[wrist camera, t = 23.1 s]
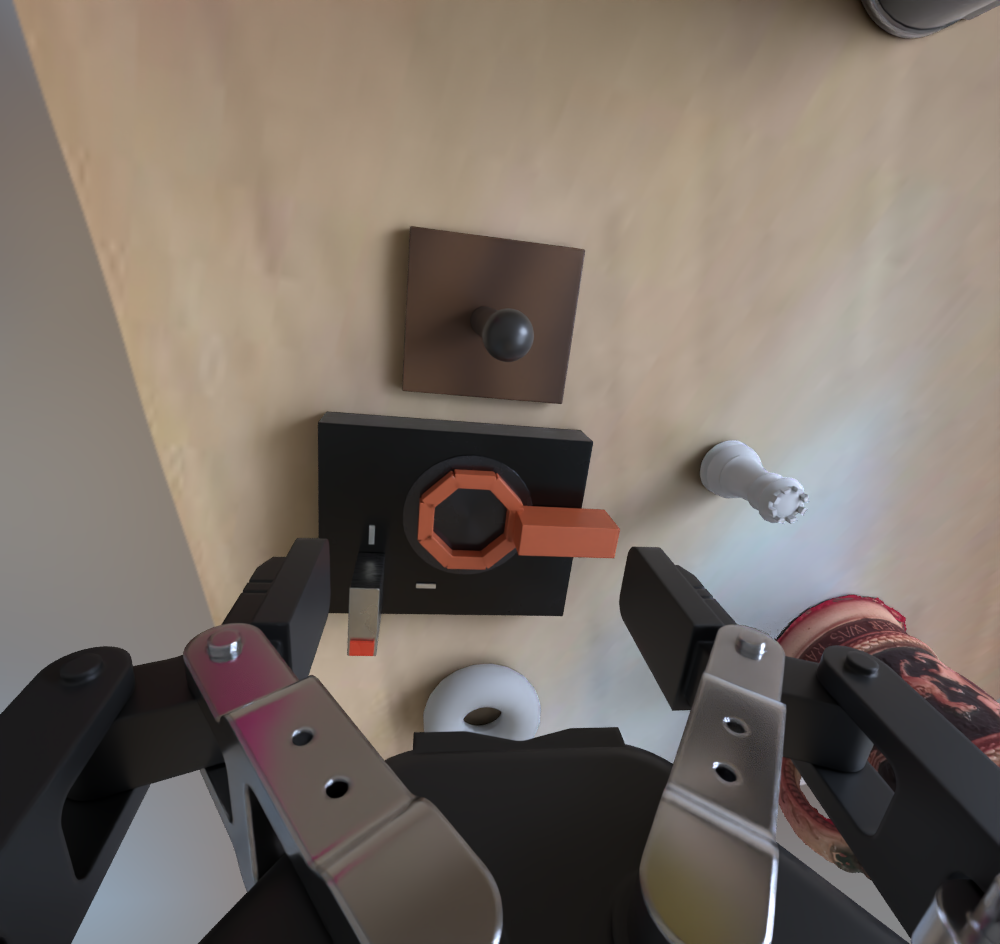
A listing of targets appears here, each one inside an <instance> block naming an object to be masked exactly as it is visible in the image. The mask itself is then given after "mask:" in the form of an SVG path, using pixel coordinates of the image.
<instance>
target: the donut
mask: <svg viewBox="0 0 1000 944" xmlns="http://www.w3.org/2000/svg"><path fill="white" fill-rule="evenodd" d="M481 707H491V708H496V709H498V710H500V711H501V712H502V714H501V715H500V716H499V718H498V719H496V720H495V721H493V722H492V723H489V724H486V725H478V726H476V725H471V724H468V723H466V722H465V721H464V720H463V719H464V717H465V716H466V715H467V714H468V713H469V712H471V711H473V710H475V709H478V708H481ZM540 712H541V707H540V702H539V699H538V696H537V693H536V691H535V689H534V687H533V686H532V685H531V684H530V682H529V681H528V680H527V679H526V678H525V677H524V676H523V675H522V674H520V673H518V672H516V671H514V670H513V669H511V668H509V667H506V666H501V665H496V664H478V665H471V666H468V667H466V668H463V669H460V670H457V671H455V672H454V673H452V674H451V675H449V676H448V677H446V678H445V679H443V680H442V681H441V682H440V683H439V685H438V686H437V687H436V688H435V689H434V691H433V692H432V693H431V694H430V696H429V699H428V701H427V704H426V707H425V710H424V714H423V718H424V732H450V731H468V732H473V733H479V734H484V735H489V736H495V737H500V738H505V739H510V740H516V741H524V740H528V739H532V738H534V736H535V733H536V731H537V729H538V727H539V724H540Z"/></svg>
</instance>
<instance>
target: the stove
mask: <svg viewBox="0 0 1000 944" xmlns="http://www.w3.org/2000/svg"><path fill="white" fill-rule="evenodd" d="M592 446H593V441H592V440H591V439H590V438H589V437H587V436H586V435H585V434H584V433H583V432H582V431H581V430H570V429H556V428H543V427H529V426H516V425H502V424H489V423H475V422H462V421H448V420H435V419H421V418H408V417H394V416H381V415H367V414H354V413H340V412H326V413H325V414H324V416H323V417H322V418H321V420H320V421H319V422H318V510H319V538H320V539H328V542H329V554H330V591H331V594H330V607H329V613H349V591H350V585H351V581H352V577H353V573H354V568H355V564H356V560H357V556H358V553H382V554H385V563H384V580H383V597H382V614H446V615H526V616H563V612H564V606H565V600H566V594H567V589H568V583H569V577H570V572H571V566H572V560H573V557H557V556H524V555H518V552H516V553H515V555H513V556H512V557H511V558H510V559H509V560H507V561H506V562H505V563H503V564H501V565H500V566H498V567H496V568H494V569H491V570H488V571H485V572H481V573H476V574H454V573H449V572H445V571H442V570H439V569H437V568H435V567H433V566H431V565H430V564H428V563H427V562H425V561H424V560H423V559H422V558H420V557H419V556H418V554H417V553H416V552H415V551H414V550H413V548H412V547H411V545H410V544H409V541H408V539H407V537H406V534H405V531H404V526H403V509H404V504H405V500H406V497H407V495H408V493H409V490H410V489H411V487H412V486H413V484H414V483H415V481H416V480H417V479H418V478H419V477H420V476H421V475H422V474H423V473H424V472H425V471H426V470H428V469H429V468H430V467H432V466H433V465H435V464H437V463H439V462H441V461H444V460H446V459H449V458H453V457H457V456H464V455H476V456H484V457H488V458H492V459H494V460H497V461H499V462H501V463H503V464H505V465H506V466H508V467H509V468H511V469H512V470H513V471H514V472H515V473H516V474H517V475H518V476H519V477H520V478H521V480H522V481H523V482H524V484H525V486H526V487H527V489H528V492H529V494H530V497H531V501H532V506H537V507H558V508H579V509H582V503H583V497H584V492H585V486H586V480H587V475H588V469H589V463H590V458H591V452H592Z"/></svg>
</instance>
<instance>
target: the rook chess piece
mask: <svg viewBox="0 0 1000 944" xmlns="http://www.w3.org/2000/svg"><path fill="white" fill-rule="evenodd" d="M700 477H701V481H702V484H703V485H704V486H705V487H706V488H707V489H708V491H711V492H713V493H714V494H716V495H719V496H721V497H724V498H743V499H745V500H747V501H749V504H750V505H751V506H752V507H753V508H754V509H757V510H759V514H760V515H761V516H762V518H763V519H764V520H766V521H769V522H771V523H779V522H780V523H782V524H784V522H785V521H787V522H789V523H790V524H791V523H793V522H796V521H797V518H796V517H795V515H797V514H798V513H800V514H802V515H803V516H804V514H805V512H806V511H807V508H805V507H803V503H807V502H809V497H808V495H806V494H804V489H803V486H802V485H801V484H800V482H799V481H798V480H796V479H793V478H791V477H787V478H783V477H782V476H781V475H779V474H776V473H769V472H768V471H767V470H766V469H765V468H763V466H762V463H761V461H760V458H759V456H758V455H757V454H756V453H755V451H754V450H753V449H752V448H750V447H748V446H747V445H746V444H744V443H742V442H740V441H737V440H734V441H724V442H722V443H720V444H717V445H715V446H714V447H713V448H712V449H711V450H710V451H709V452H708V453H707V454H706V456H705V457H704V459H703V461H702V463H701V469H700Z"/></svg>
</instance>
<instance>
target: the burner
mask: <svg viewBox="0 0 1000 944" xmlns="http://www.w3.org/2000/svg"><path fill="white" fill-rule="evenodd" d="M455 469H460V470H477V471H494V472H495V474H496V473H498V475H499V476H500V477H501V478H502V479H503V480H504V481H505V482H506V484H507V485H508V486H509V487H510V488H511V489H512V490H513V492H514V493H515V494H516V495H517V496H518V497H519V498H520V499H521V502H522V504H523V506H532V501H531V497H530V494H529V492H528V489H527V487H526V486H525V484H524V482H523V481H522V480H521V478H520V477H519V476H518V475H517V474H516V473H515V472H514V471H513V470H512V469H511V468H509V467H508V466H506V465H505V464H503V463H501V462H499V461H497V460H494V459H492V458H488V457H484V456H476V455H464V456H457V457H453V458H449V459H446V460H444V461H441V462H439V463H437V464H435V465H433V466H432V467H430V468H429V469H428V470H426V471H425V472H424V473H423V474H422V475H421V476H420V477H419V478H418V479H417V480H416V481H415V483H414V484H413V486H412V487H411V489H410V490H409V493H408V495H407V497H406V500H405V504H404V509H403V526H404V531H405V534H406V537H407V539H408V541H409V544H410V545H411V547H412V548H413V550H414V551H415V552H416V553H417V554H418V556H419V557H420V558H422V559H423V560H424V561H425V562H427V563H428V564H430V565H431V566H433V567H435V568H437V569H439V570H442V571H445V572H449V573H454V574H476V573H481V572H485V571H488V570H491V569H494V568H496V567H498V566H500V565H501V564H503V563H505V562H506V561H507V560H509V559H510V558H511V557H512V556H513V555H515V553H516V552H517V550H516V547H515V548H514V549H513V550H512V551H510V552H509V553H508V554H507V555H505V556H504V557H503V558H501V559H500V560H499V561H498V562H496V563H495V564H494V565H492V566H491V567H490V568H489V569H488V568H487V567H486V569H485V570H478V569H447V566H446V567H443V566H442V565H441V564H440V563H439V562H438V561H437V560H436V559H435V558H434V557H433V556H432V555H431V554H430V553H429V552H428V551H427V550H426V549H425V548H424V547H423V546H422V545H421V544H420V543H419V540H418V539H417V534H418V518H419V502H420V498H422V494H423V493H425V492H426V491H427V490H428V489H429V488H431V487H432V486H433V485H434V484H436V483H437V482H438V481H439V480H440V479H442V478H443V477H444V476H445V475H447V474H448V473H449V472H450V471H453V472H454V470H455ZM506 512H507V508H506V507H505V506H504V505H503V504H502V503H501V502H500V500H499V499H498V498H497V497H496V496H495V495H494V494H493V493H492V492H491V491H490V490H482V489H462V488H458V489H457V490H456V491H454V492H453V493H452V494H451V495H450V496H448V497H447V498H446V499H445V500H443V501H442V502H441V503H440V504H438V505H437V506H436V507H435V511H434V524H433V531H434V532H435V533H436V534H437V535H438V536H439V537H440V538H441V539H442V540H443V541H444V542H445V543H446V544H447V545H448V546H449V547H450V548H451V549H452V550H474V551H481V550H483V549H484V548H485V547H486V546H488V545H489V544H490V543H492V542H493V541H494V540H495V539H497V538H498V537H499V536H500V535H502V534H503V533H504V528H505V520H506Z"/></svg>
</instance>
